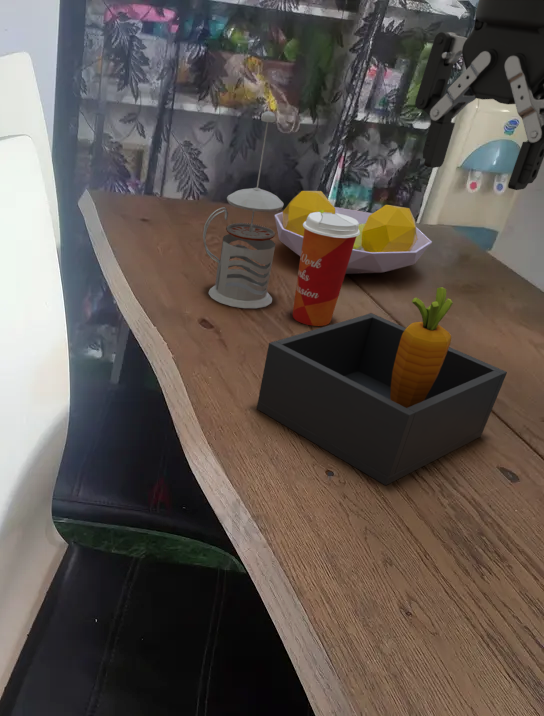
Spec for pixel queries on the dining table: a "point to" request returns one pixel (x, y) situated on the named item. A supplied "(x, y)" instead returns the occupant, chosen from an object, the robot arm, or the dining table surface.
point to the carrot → (421, 353)
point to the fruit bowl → (377, 233)
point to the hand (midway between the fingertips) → (472, 177)
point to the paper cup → (323, 265)
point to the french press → (238, 283)
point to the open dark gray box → (373, 397)
